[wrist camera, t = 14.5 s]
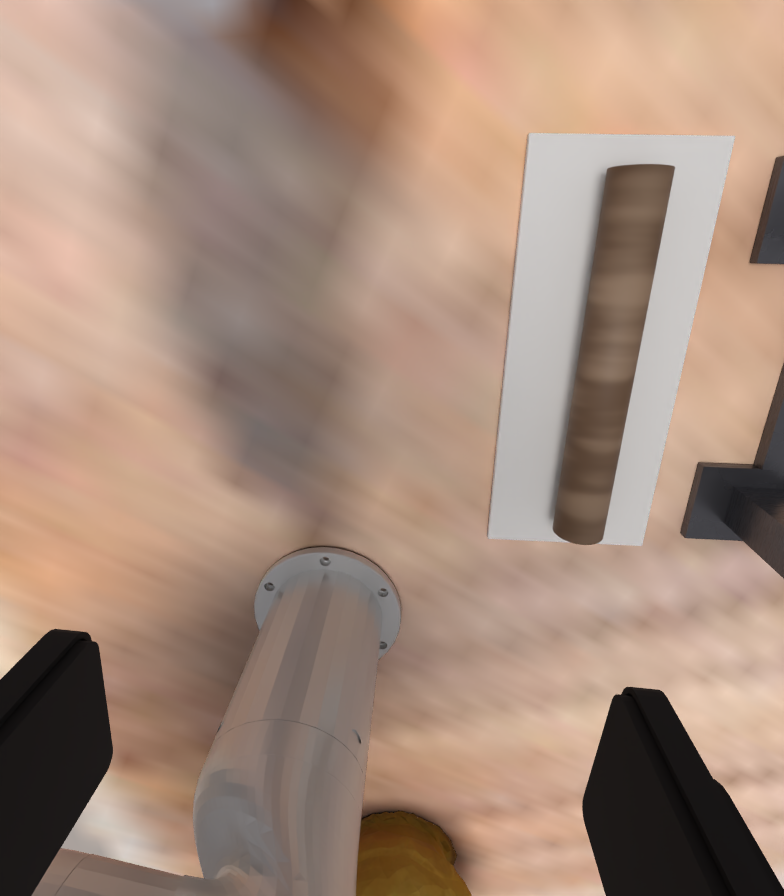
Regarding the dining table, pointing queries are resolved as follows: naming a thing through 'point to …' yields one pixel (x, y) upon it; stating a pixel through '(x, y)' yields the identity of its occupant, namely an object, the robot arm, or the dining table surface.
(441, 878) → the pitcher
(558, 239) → the mat
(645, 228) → the rod
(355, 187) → the dining table surface
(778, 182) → the rack
